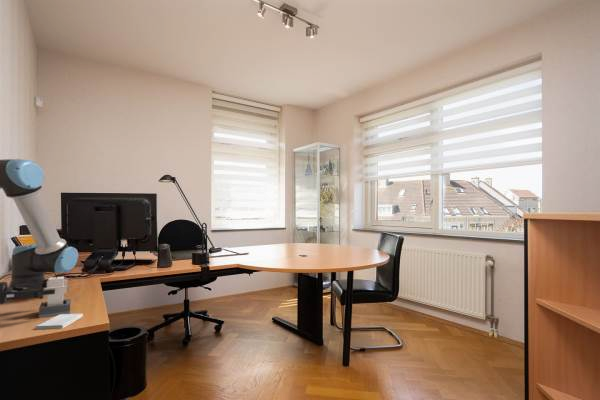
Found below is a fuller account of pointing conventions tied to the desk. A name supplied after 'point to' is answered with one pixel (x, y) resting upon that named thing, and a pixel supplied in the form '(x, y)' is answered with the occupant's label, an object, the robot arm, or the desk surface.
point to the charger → (55, 298)
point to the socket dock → (54, 309)
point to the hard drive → (59, 321)
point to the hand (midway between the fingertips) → (67, 286)
